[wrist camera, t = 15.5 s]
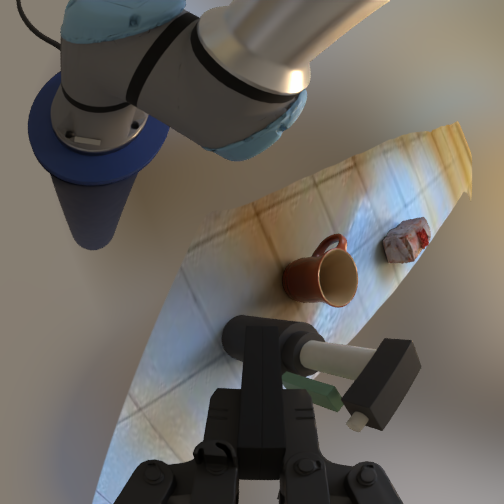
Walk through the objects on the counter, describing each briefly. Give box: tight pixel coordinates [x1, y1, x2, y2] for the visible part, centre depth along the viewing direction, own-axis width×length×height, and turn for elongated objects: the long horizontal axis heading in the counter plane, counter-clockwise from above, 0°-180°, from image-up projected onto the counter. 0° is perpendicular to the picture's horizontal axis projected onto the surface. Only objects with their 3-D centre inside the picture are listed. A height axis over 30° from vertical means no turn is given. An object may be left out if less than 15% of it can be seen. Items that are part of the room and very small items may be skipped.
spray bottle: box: [222, 315, 421, 432], centre depth 32 cm, size 10×7×28 cm
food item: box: [383, 217, 431, 264], centre depth 64 cm, size 14×8×10 cm, turn 122°
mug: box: [283, 234, 358, 308], centre depth 47 cm, size 12×9×10 cm
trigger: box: [282, 371, 344, 412], centre depth 26 cm, size 1×3×7 cm, turn 38°
